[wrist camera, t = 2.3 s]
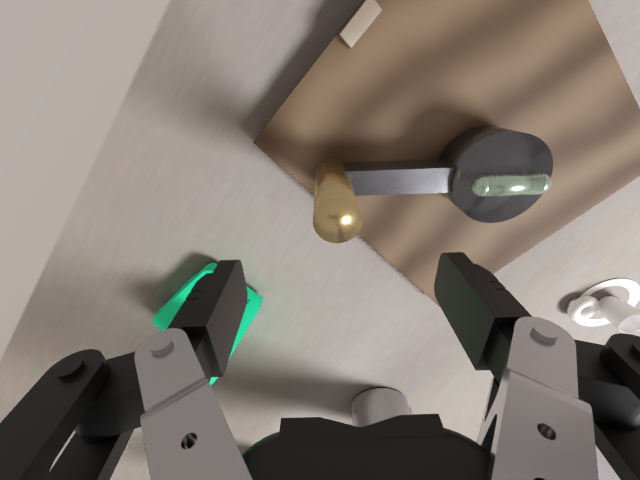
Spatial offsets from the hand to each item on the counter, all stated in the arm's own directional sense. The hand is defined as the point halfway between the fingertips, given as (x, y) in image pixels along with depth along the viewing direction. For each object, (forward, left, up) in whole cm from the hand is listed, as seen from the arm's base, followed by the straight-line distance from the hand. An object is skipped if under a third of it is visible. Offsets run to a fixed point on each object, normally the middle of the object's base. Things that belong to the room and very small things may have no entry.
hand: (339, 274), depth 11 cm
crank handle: (-5, -6, -16) cm, 18 cm away
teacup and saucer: (-35, -12, -19) cm, 42 cm away
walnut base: (-7, -9, -18) cm, 22 cm away
